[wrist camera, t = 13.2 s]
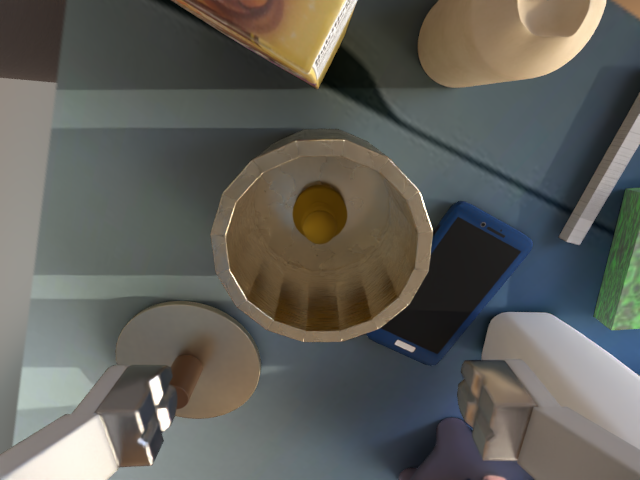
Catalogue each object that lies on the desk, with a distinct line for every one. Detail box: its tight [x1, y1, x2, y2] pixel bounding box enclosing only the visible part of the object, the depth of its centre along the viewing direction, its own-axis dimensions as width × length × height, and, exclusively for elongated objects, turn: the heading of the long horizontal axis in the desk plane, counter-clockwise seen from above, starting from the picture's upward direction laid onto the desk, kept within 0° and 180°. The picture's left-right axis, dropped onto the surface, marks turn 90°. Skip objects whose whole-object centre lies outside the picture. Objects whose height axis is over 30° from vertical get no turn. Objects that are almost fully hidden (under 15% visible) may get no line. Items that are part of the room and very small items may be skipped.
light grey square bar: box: [559, 93, 640, 245], centre depth 24 cm, size 12×1×1 cm, turn 165°
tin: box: [210, 129, 433, 342], centre depth 22 cm, size 12×12×8 cm
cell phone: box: [367, 201, 533, 366], centre depth 28 cm, size 7×14×1 cm, turn 152°
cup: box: [482, 312, 640, 449], centre depth 23 cm, size 7×7×15 cm
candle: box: [418, 0, 606, 88], centre depth 17 cm, size 6×6×10 cm
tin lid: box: [116, 301, 261, 419], centre depth 29 cm, size 13×13×5 cm
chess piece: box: [292, 185, 347, 244], centre depth 23 cm, size 4×4×5 cm
